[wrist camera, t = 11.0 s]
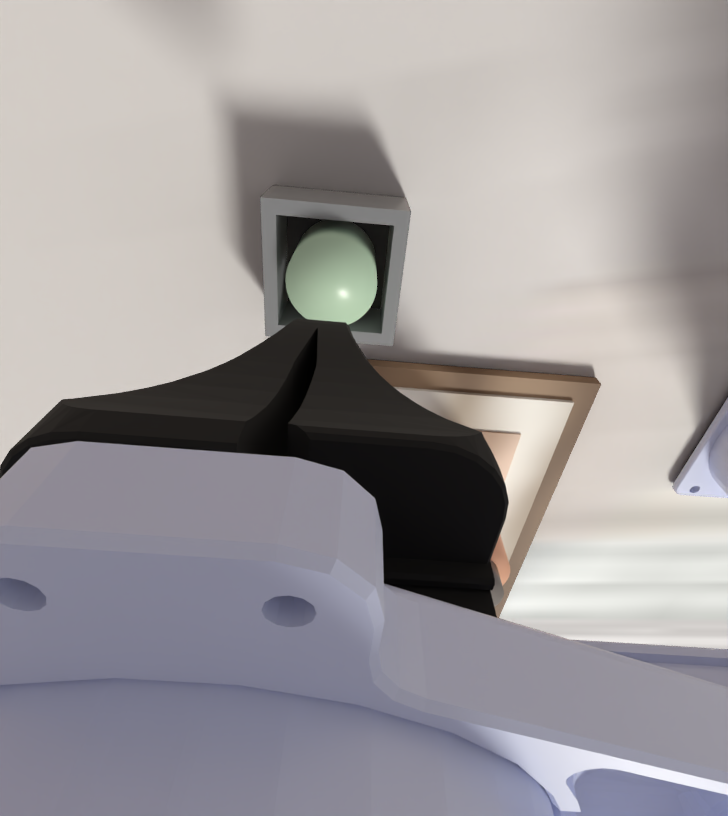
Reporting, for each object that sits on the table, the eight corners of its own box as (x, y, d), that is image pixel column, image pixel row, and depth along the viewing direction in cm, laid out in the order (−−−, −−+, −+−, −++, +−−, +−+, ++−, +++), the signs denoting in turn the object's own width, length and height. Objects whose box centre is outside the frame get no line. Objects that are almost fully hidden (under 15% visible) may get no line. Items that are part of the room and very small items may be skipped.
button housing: (405, 197, 17) (411, 211, 15) (390, 320, 20) (393, 346, 18) (273, 185, 17) (259, 197, 15) (276, 311, 20) (265, 335, 18)
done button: (379, 222, 18) (381, 241, 15) (372, 302, 19) (372, 330, 17) (296, 215, 17) (285, 233, 15) (295, 295, 19) (285, 323, 17)
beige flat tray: (595, 377, 22) (603, 387, 21) (489, 625, 33) (492, 637, 33) (277, 352, 21) (273, 361, 20) (283, 614, 33) (281, 626, 32)
